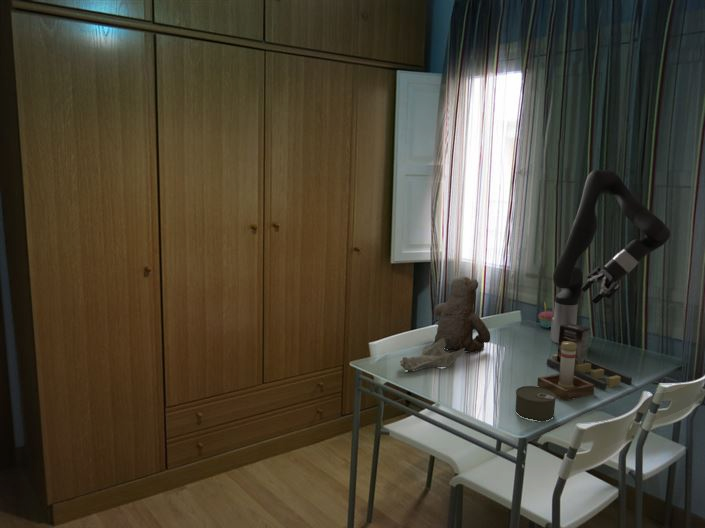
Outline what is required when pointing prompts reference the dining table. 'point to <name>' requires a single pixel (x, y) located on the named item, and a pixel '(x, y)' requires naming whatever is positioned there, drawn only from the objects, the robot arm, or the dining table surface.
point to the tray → (578, 389)
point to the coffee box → (577, 336)
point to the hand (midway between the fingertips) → (587, 296)
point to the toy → (461, 318)
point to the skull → (432, 357)
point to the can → (535, 403)
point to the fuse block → (594, 373)
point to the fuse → (567, 364)
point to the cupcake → (546, 318)
